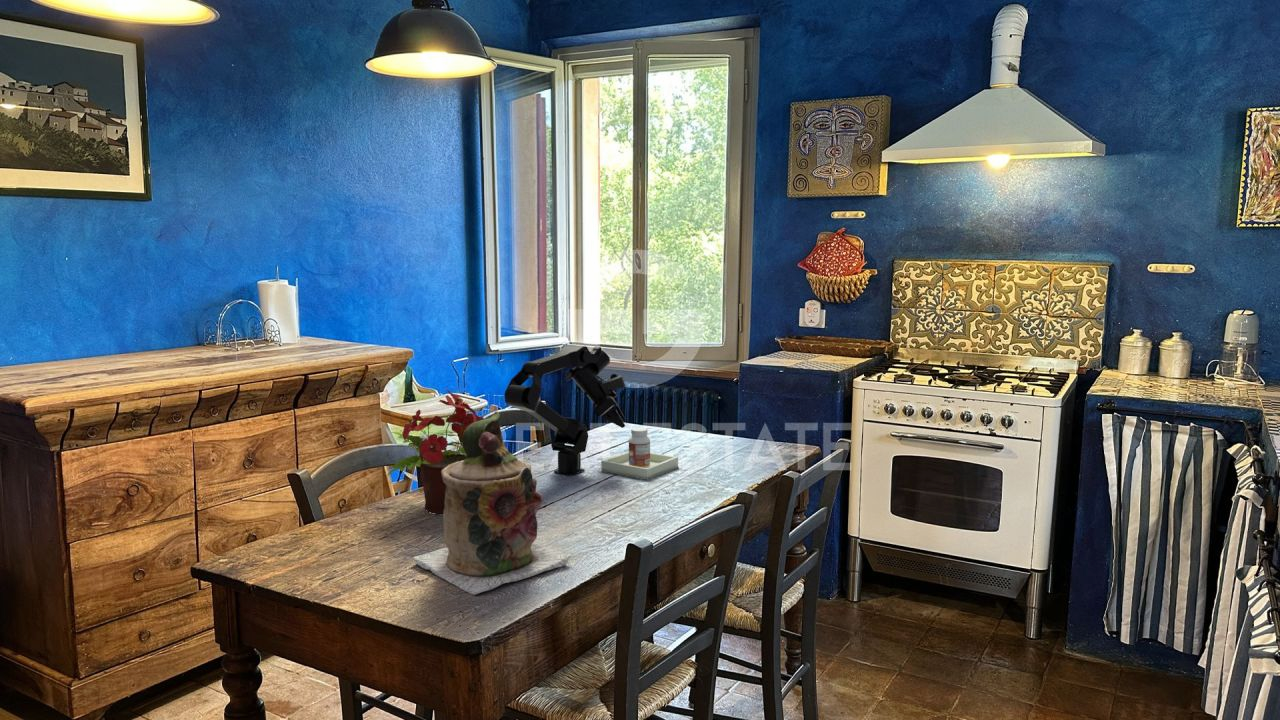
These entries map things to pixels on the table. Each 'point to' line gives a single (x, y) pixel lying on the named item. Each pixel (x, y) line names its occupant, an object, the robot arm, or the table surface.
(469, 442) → the cookie jar
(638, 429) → the pill bottle
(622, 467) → the tray
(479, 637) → the table surface
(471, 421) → the potted plant
